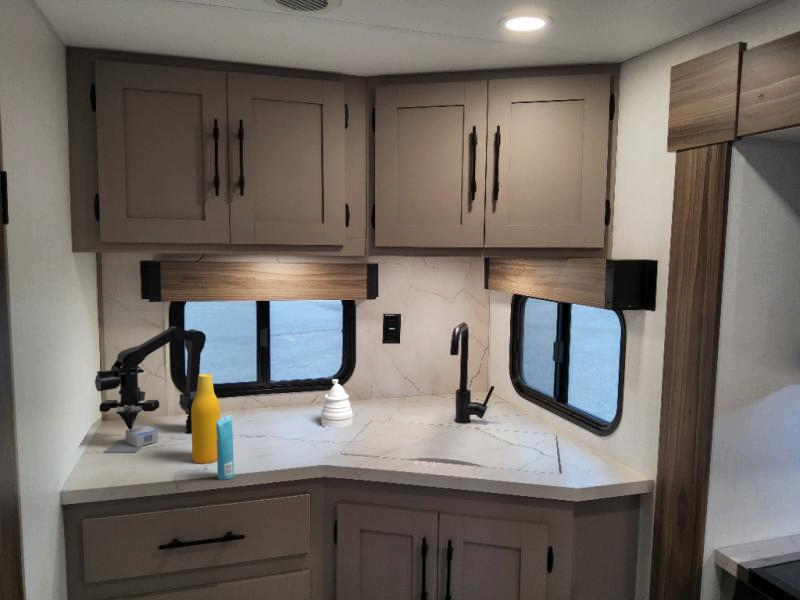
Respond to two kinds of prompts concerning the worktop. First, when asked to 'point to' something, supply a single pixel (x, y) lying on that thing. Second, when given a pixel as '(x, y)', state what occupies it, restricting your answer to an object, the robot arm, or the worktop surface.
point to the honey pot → (337, 408)
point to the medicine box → (141, 436)
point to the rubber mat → (122, 447)
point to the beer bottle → (205, 421)
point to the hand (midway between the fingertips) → (130, 429)
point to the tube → (225, 448)
